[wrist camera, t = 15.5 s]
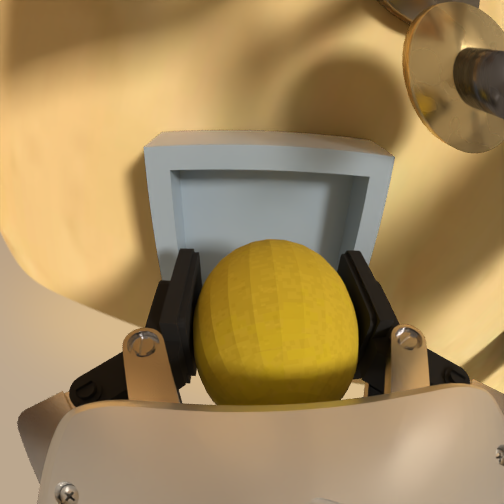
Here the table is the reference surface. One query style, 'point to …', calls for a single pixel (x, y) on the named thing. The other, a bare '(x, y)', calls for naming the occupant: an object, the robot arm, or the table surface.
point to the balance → (454, 70)
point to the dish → (264, 193)
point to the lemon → (275, 328)
